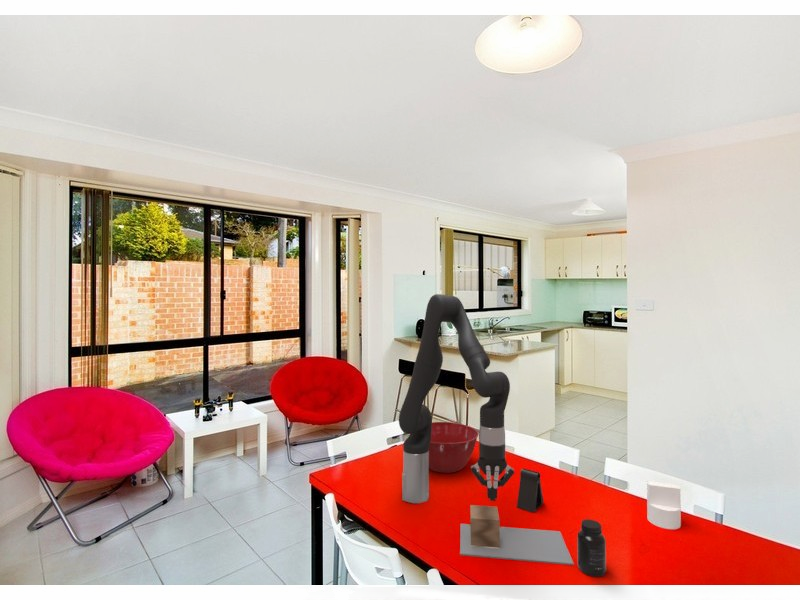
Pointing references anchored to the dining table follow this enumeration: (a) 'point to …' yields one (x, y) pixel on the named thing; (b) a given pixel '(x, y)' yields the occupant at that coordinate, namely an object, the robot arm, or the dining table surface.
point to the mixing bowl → (451, 446)
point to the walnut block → (484, 526)
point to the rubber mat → (520, 545)
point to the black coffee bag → (529, 491)
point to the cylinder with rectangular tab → (664, 505)
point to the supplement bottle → (591, 548)
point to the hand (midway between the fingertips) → (492, 499)
